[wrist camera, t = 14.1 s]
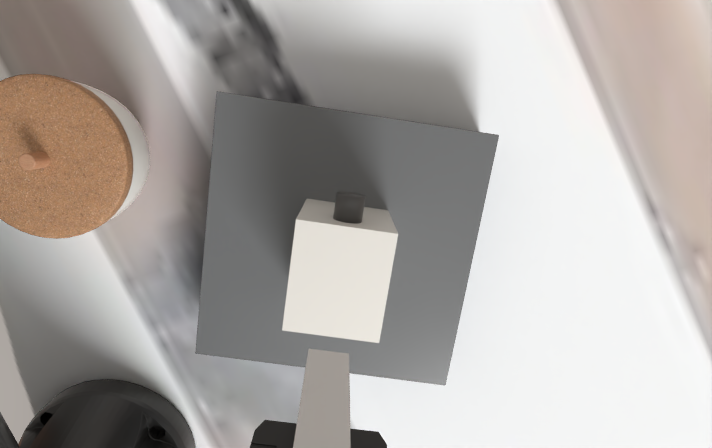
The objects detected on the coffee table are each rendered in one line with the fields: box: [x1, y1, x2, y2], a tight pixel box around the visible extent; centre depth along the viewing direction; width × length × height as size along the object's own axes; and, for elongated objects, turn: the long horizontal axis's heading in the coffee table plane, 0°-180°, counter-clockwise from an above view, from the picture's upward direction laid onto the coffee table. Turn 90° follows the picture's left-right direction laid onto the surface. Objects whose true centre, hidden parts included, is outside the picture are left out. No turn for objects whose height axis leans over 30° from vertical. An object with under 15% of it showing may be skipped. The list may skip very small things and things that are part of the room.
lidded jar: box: [0, 74, 150, 238], centre depth 33 cm, size 11×11×9 cm
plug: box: [282, 191, 398, 343], centre depth 33 cm, size 6×9×10 cm
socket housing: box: [195, 91, 499, 385], centre depth 37 cm, size 20×20×5 cm
